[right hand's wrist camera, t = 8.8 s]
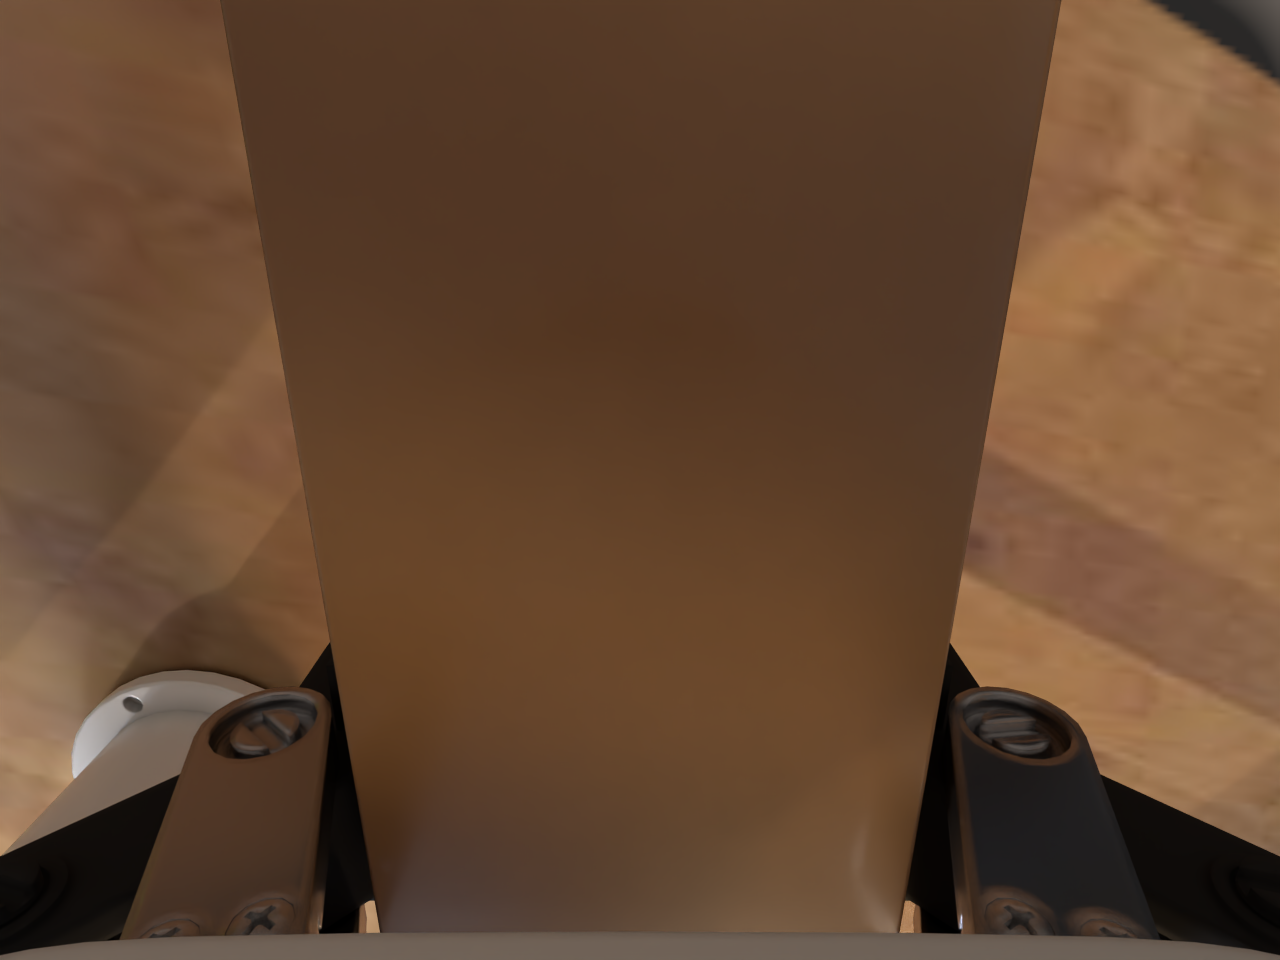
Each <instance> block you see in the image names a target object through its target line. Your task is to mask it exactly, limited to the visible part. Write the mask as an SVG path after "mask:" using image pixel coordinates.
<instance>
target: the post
mask: <svg viewBox="0 0 1280 960" xmlns="http://www.w3.org/2000/svg"><path fill="white" fill-rule="evenodd" d="M220 2H221V7H222V13H223V19H224V25H225V31H226V37H227V42H228V48H229V54H230V60H231V66H232V72H233V77H234V83H235V89H236V95H237V101H238V107H239V112H240V118H241V124H242V130H243V136H244V142H245V147H246V153H247V159H248V165H249V171H250V177H251V182H252V188H253V194H254V200H255V206H256V211H257V217H258V223H259V229H260V235H261V241H262V246H263V252H264V258H265V264H266V270H267V276H268V281H269V287H270V293H271V299H272V305H273V311H274V316H275V322H276V328H277V334H278V340H279V346H280V351H281V357H282V363H283V369H284V375H285V381H286V386H287V392H288V398H289V404H290V410H291V416H292V421H293V427H294V433H295V439H296V445H297V451H298V456H299V462H300V468H301V474H302V480H303V485H304V491H305V497H306V503H307V509H308V515H309V520H310V526H311V532H312V538H313V544H314V550H315V555H316V561H317V567H318V573H319V579H320V585H321V590H322V596H323V602H324V608H325V614H326V620H327V625H328V631H329V637H330V643H331V649H332V655H333V660H334V666H335V672H336V678H337V684H338V690H339V695H340V701H341V707H342V713H343V719H344V724H345V730H346V736H347V742H348V748H349V754H350V759H351V765H352V771H353V777H354V783H355V789H356V794H357V800H358V806H359V812H360V818H361V824H362V829H363V835H364V841H365V847H366V853H367V859H368V864H369V870H370V876H371V882H372V888H373V894H374V899H375V905H376V911H377V917H378V923H379V929H380V933H454V932H826V933H899V932H900V926H901V920H902V914H903V909H904V903H905V897H906V891H907V886H908V880H909V874H910V868H911V863H912V857H913V851H914V845H915V840H916V834H917V828H918V822H919V817H920V811H921V805H922V799H923V793H924V788H925V782H926V776H927V770H928V765H929V759H930V753H931V747H932V742H933V736H934V730H935V724H936V719H937V713H938V707H939V701H940V696H941V690H942V684H943V678H944V673H945V667H946V661H947V655H948V650H949V644H950V638H951V632H952V626H953V621H954V615H955V609H956V603H957V598H958V592H959V586H960V580H961V575H962V569H963V563H964V557H965V552H966V546H967V540H968V534H969V529H970V523H971V517H972V511H973V506H974V500H975V494H976V488H977V482H978V477H979V471H980V465H981V459H982V454H983V448H984V442H985V436H986V431H987V425H988V419H989V413H990V408H991V402H992V396H993V390H994V385H995V379H996V373H997V367H998V362H999V356H1000V350H1001V344H1002V339H1003V333H1004V327H1005V321H1006V315H1007V310H1008V304H1009V298H1010V292H1011V287H1012V281H1013V275H1014V269H1015V264H1016V258H1017V252H1018V246H1019V241H1020V235H1021V229H1022V223H1023V218H1024V212H1025V206H1026V200H1027V195H1028V189H1029V183H1030V177H1031V172H1032V166H1033V160H1034V154H1035V148H1036V143H1037V137H1038V131H1039V125H1040V120H1041V114H1042V108H1043V102H1044V97H1045V91H1046V85H1047V79H1048V74H1049V68H1050V62H1051V56H1052V51H1053V45H1054V39H1055V33H1056V28H1057V22H1058V16H1059V10H1060V4H1061V0H220Z"/></svg>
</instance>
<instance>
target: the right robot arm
mask: <svg viewBox="0 0 1280 960" xmlns="http://www.w3.org/2000/svg"><path fill="white" fill-rule="evenodd" d="M72 773H73V777H74V780H73V781H72V782H71V783H70V784H69V785H68V787H67V788H66V789H65V790H64V791H63V792H62V793H61V794H60V795H59V796H58V797H57V798H56V799H55V800H54V801H53V802H52V803H51V804H50V805H49V806H48V807H47V809H46V810H45V811H44V812H43V813H42V814H41V815H40V816H39V817H38V818H37V819H36V820H35V821H34V822H33V823H32V824H31V825H30V826H29V827H28V828H27V830H26V831H25V832H24V833H23V834H22V835H21V836H20V837H19V838H18V839H17V840H16V841H15V842H14V843H13V844H12V845H11V846H10V847H9V848H8V849H7V850H6V852H5V853H4V854H3V855H2V856H0V960H1280V856H1277V855H1275V854H1273V853H1271V852H1269V851H1267V850H1264V849H1262V848H1260V847H1258V846H1256V845H1253V844H1251V843H1249V842H1247V841H1245V840H1242V839H1240V838H1238V837H1236V836H1234V835H1232V834H1229V833H1227V832H1225V831H1223V830H1221V829H1218V828H1216V827H1214V826H1212V825H1210V824H1208V823H1205V822H1203V821H1201V820H1199V819H1197V818H1194V817H1192V816H1190V815H1188V814H1186V813H1183V812H1181V811H1179V810H1177V809H1175V808H1173V807H1170V806H1168V805H1166V804H1164V803H1162V802H1159V801H1157V800H1155V799H1153V798H1151V797H1149V796H1146V795H1144V794H1142V793H1140V792H1138V791H1135V790H1133V789H1131V788H1129V787H1127V786H1124V785H1122V784H1120V783H1118V782H1116V781H1114V780H1111V779H1109V778H1107V777H1105V776H1103V775H1100V773H1099V770H1098V768H1097V765H1096V762H1095V759H1094V757H1093V754H1092V751H1091V748H1090V746H1089V743H1088V740H1087V737H1086V736H1085V734H1084V732H1083V731H1082V729H1081V727H1080V726H1079V724H1078V723H1077V722H1076V721H1075V720H1074V719H1072V718H1071V717H1070V716H1069V715H1068V714H1067V713H1066V712H1065V711H1063V710H1061V709H1060V708H1058V707H1057V706H1055V705H1053V704H1052V703H1050V702H1048V701H1046V700H1044V699H1041V698H1039V697H1036V696H1034V695H1031V694H1029V693H1026V692H1022V691H1017V690H1013V689H1009V688H1001V687H979V685H978V684H977V682H976V681H975V679H974V678H973V676H972V675H971V673H970V672H969V670H968V669H967V667H966V666H965V664H964V663H963V661H962V660H961V658H960V657H959V656H958V654H957V653H956V651H955V650H954V648H953V647H952V645H951V644H949V650H948V655H947V661H946V667H945V673H944V678H943V684H942V690H941V696H940V701H939V707H938V713H937V719H936V724H935V730H934V736H933V742H932V747H931V753H930V759H929V765H928V770H927V776H926V782H925V788H924V793H923V799H922V805H921V811H920V817H919V822H918V828H917V834H916V840H915V845H914V851H913V857H912V863H911V868H910V874H909V880H908V886H907V891H906V897H905V901H912V902H913V903H915V904H916V905H915V911H914V917H913V922H914V933H826V932H454V933H366V922H367V917H366V911H365V905H364V904H365V903H366V902H368V901H375V899H374V894H373V888H372V882H371V876H370V870H369V864H368V859H367V853H366V847H365V841H364V835H363V829H362V824H361V818H360V812H359V806H358V800H357V794H356V789H355V783H354V777H353V771H352V765H351V759H350V754H349V748H348V742H347V736H346V730H345V724H344V719H343V713H342V707H341V701H340V695H339V690H338V684H337V678H336V672H335V666H334V660H333V655H332V649H331V643H329V644H328V646H327V647H326V649H325V650H324V651H323V653H322V654H321V656H320V657H319V659H318V660H317V662H316V663H315V665H314V666H313V668H312V669H311V671H310V672H309V674H308V675H307V677H306V678H305V680H304V681H303V682H302V684H301V685H300V687H279V688H271V689H267V690H265V689H263V688H260V687H258V686H255V685H253V684H251V683H248V682H246V681H243V680H241V679H238V678H234V677H230V676H226V675H222V674H218V673H214V672H204V671H193V670H179V671H163V672H159V673H154V674H150V675H146V676H142V677H139V678H137V679H134V680H132V681H130V682H128V683H126V684H124V685H122V686H120V687H118V688H117V689H116V690H115V691H113V692H112V693H111V694H109V695H108V696H107V697H106V698H104V699H103V700H102V701H101V702H100V703H99V704H98V705H97V706H96V707H95V708H94V709H93V711H92V712H91V713H90V714H89V715H88V716H87V717H86V718H85V719H84V721H83V723H82V725H81V727H80V728H79V730H78V732H77V734H76V737H75V741H74V745H73V749H72Z"/></svg>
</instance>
